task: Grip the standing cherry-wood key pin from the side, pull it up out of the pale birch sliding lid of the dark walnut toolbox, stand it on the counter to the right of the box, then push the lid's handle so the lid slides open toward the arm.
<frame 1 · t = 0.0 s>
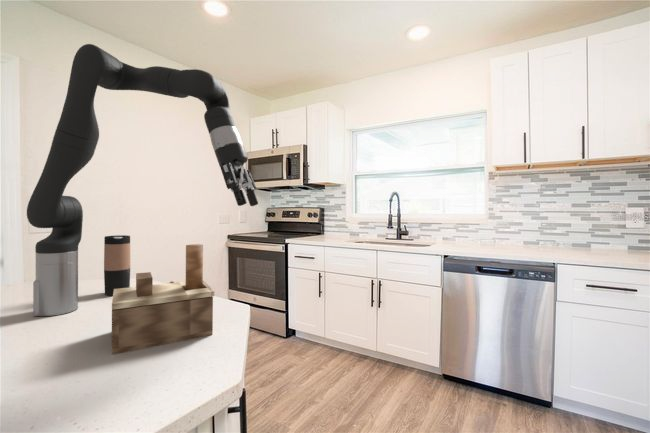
hand: (248, 205, 81), 31 cm above the countertop, tool tilted 20°, fingers open, 8 cm apart
lid: (164, 284, 74), point 12 cm above the countertop, slide at 0.0 cm
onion: (170, 308, 94), on the countertop
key: (194, 292, 78), point 9 cm above the countertop, touching toolbox
toolbox: (162, 332, 75), on the countertop
travel mug: (117, 293, 108), on the countertop
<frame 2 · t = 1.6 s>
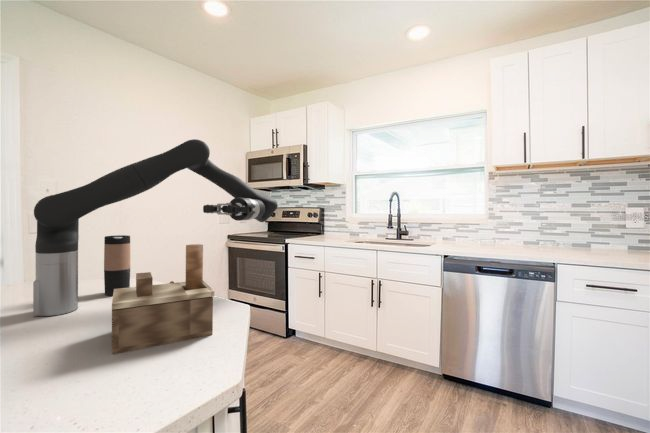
hand: (217, 209, 88), 30 cm above the countertop, tool horizontal, fingers open, 8 cm apart
nothing on the countertop moved.
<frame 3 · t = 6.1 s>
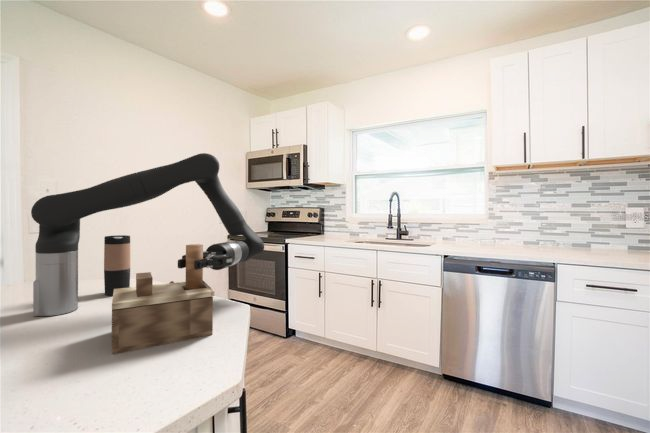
hand: (187, 264, 75), 16 cm above the countertop, tool horizontal, fingers closed on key, 4 cm apart
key: (194, 292, 78), point 9 cm above the countertop, touching gripper, toolbox
everything else where it was.
when the fingers open (9 cm above the countertop, at t = 11.5 s): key drops 1 cm, on the countertop.
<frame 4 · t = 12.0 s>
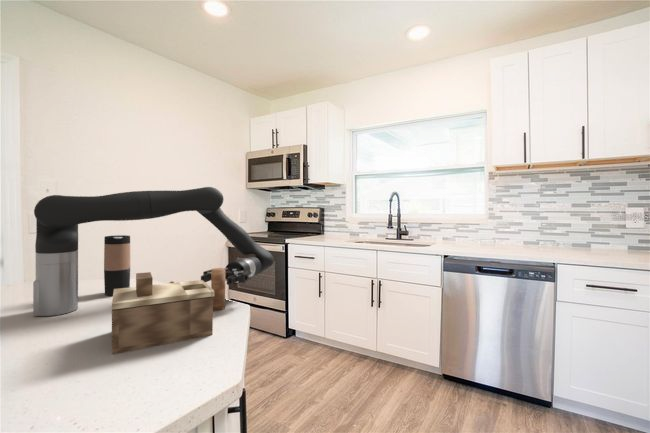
hand: (214, 280, 91), 9 cm above the countertop, tool horizontal, fingers open, 8 cm apart
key: (218, 308, 93), on the countertop
everything else where it was.
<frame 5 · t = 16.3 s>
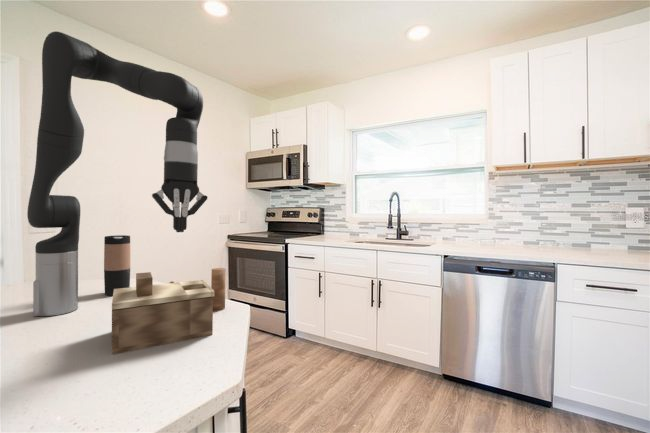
hand: (179, 231, 77), 24 cm above the countertop, tool pointing down, fingers closed
nothing on the countertop moved.
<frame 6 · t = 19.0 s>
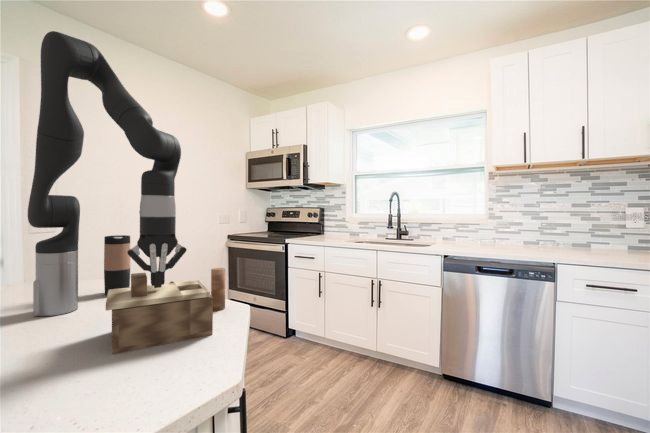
hand: (157, 286, 74), 11 cm above the countertop, tool pointing down, fingers closed
lid: (159, 284, 74), point 12 cm above the countertop, slide at 1.1 cm, touching gripper
everything else where it was.
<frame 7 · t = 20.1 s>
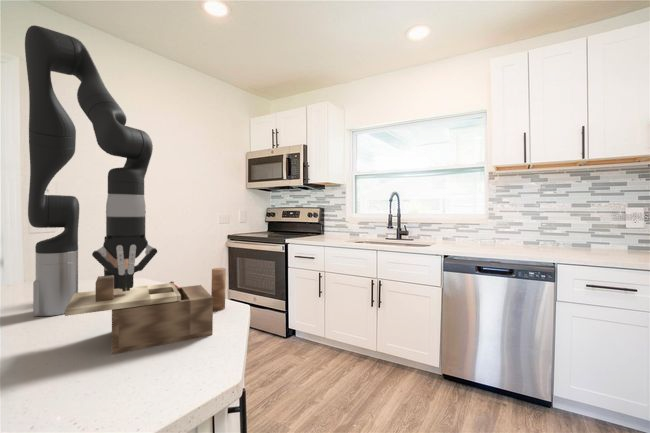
hand: (126, 290, 70), 11 cm above the countertop, tool pointing down, fingers closed
lid: (127, 288, 70), point 12 cm above the countertop, slide at 7.4 cm, touching gripper
everything else where it was.
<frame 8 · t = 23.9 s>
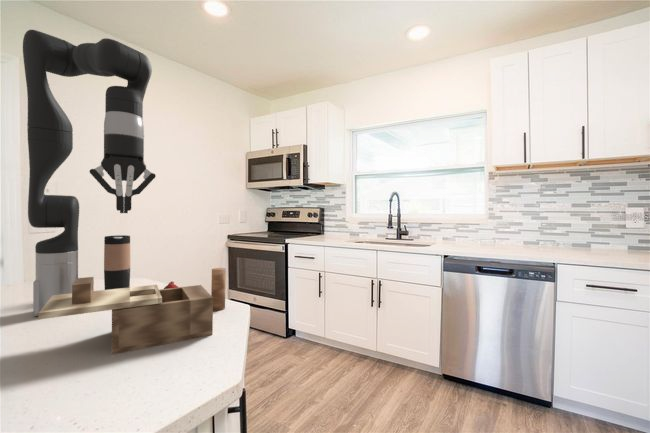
hand: (124, 213, 70), 29 cm above the countertop, tool pointing down, fingers closed
lid: (107, 290, 68), point 12 cm above the countertop, slide at 11.2 cm
everything else where it was.
at the end: lid slide at 11.2 cm; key inside the target area (0.1 cm from its centre), on the countertop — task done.
